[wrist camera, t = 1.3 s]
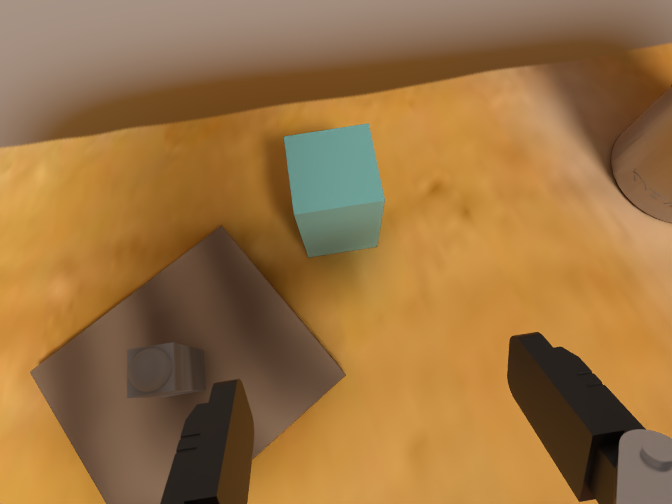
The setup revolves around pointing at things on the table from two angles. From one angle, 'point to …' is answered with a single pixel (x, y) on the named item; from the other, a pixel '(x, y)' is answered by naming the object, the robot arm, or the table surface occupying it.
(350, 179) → the tall teal pillar
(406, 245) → the table surface
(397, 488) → the table surface
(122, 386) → the post board
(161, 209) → the table surface
